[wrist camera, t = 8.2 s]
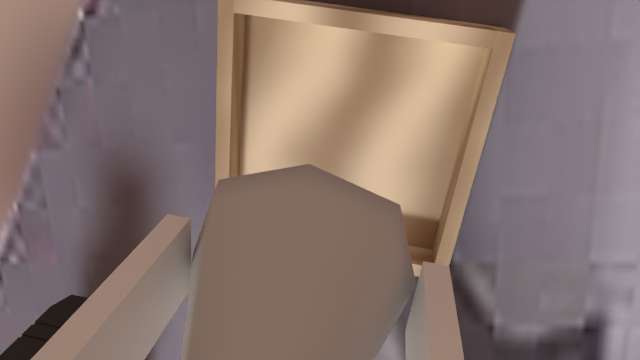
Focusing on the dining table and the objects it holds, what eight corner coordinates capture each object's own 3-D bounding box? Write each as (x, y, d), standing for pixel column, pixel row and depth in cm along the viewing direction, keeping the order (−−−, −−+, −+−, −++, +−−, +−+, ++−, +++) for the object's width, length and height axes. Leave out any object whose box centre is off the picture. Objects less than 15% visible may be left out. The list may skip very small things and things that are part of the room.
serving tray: (504, 27, 23) (515, 33, 21) (441, 257, 29) (444, 281, 27) (234, -10, 24) (218, -7, 22) (228, 217, 30) (214, 237, 28)
